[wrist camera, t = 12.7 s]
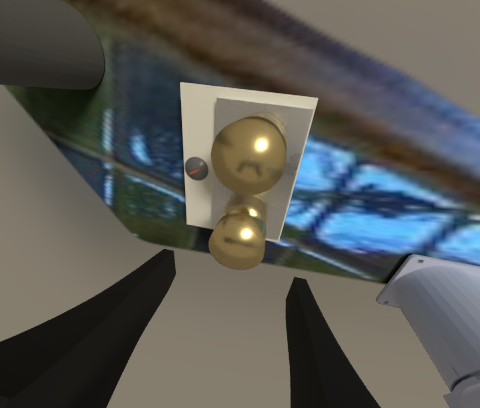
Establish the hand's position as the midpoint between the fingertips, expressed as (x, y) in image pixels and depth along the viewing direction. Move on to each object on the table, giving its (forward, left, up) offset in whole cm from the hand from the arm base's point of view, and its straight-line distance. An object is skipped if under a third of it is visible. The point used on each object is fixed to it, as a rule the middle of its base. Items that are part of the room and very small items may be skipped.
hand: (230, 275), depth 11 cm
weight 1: (0, -6, -7) cm, 10 cm away
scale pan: (0, -3, -8) cm, 9 cm away
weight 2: (0, 0, -7) cm, 7 cm away
